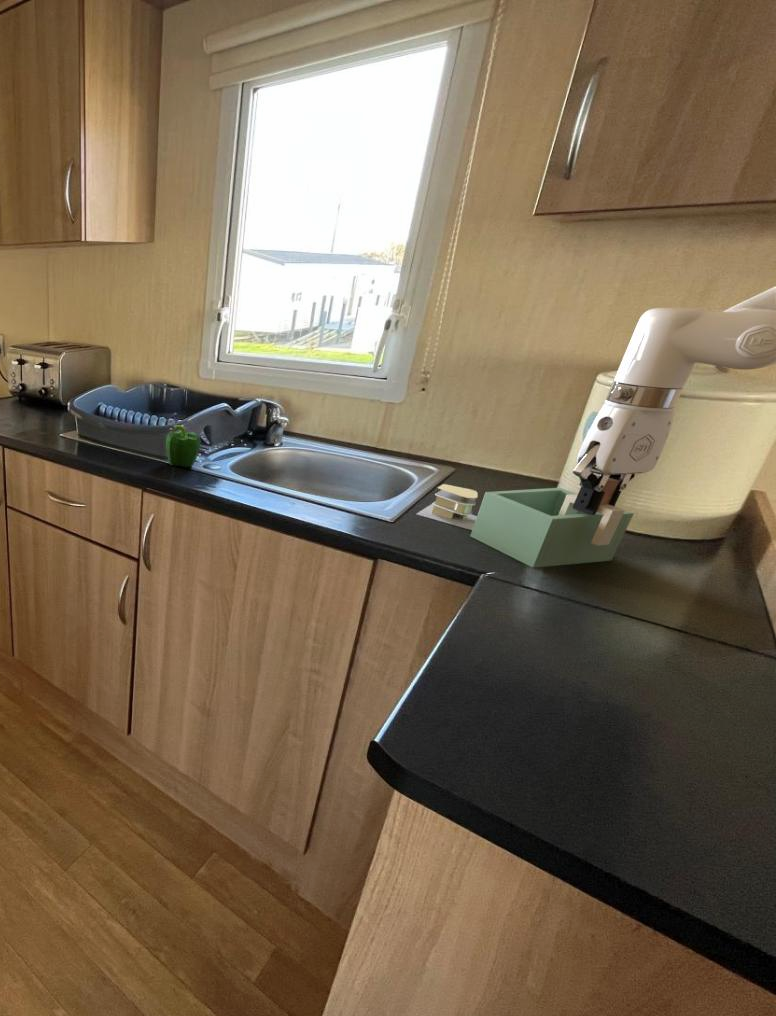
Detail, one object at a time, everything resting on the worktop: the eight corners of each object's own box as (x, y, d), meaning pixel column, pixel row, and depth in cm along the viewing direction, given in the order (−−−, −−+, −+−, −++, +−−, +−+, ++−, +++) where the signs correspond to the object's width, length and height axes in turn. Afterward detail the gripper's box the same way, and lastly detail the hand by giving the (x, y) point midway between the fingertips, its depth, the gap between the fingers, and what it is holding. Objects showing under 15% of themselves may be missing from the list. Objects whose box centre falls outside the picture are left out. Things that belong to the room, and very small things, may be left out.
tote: (542, 530, 105) (559, 487, 101) (611, 560, 94) (634, 513, 90) (469, 536, 102) (485, 491, 98) (532, 567, 91) (552, 519, 87)
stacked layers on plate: (415, 514, 111) (423, 488, 109) (431, 504, 116) (439, 479, 114) (472, 530, 104) (481, 503, 102) (486, 518, 110) (495, 493, 107)
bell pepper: (200, 462, 140) (204, 423, 136) (194, 471, 133) (199, 431, 129) (168, 458, 143) (171, 420, 139) (161, 467, 136) (164, 427, 132)
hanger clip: (564, 526, 94) (587, 471, 90) (609, 544, 88) (636, 486, 84) (553, 527, 94) (576, 471, 90) (597, 545, 87) (624, 486, 83)
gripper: (626, 403, 76) (574, 523, 84) (714, 401, 80) (656, 517, 87) (572, 393, 83) (528, 505, 91) (655, 391, 86) (606, 500, 94)
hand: (591, 510), depth 89 cm, fingers closed on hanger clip, 2 cm apart
